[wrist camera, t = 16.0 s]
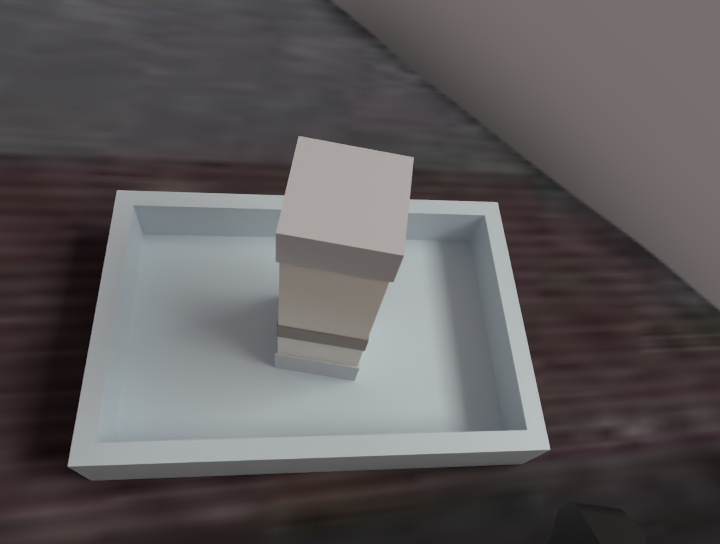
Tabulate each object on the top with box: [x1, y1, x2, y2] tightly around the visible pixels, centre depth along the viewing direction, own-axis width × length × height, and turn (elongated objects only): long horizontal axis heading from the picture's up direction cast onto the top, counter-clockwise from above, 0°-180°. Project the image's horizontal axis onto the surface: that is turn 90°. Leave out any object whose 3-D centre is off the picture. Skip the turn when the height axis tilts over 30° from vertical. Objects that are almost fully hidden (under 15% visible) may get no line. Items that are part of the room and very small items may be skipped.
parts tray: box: [68, 190, 550, 481], centre depth 25 cm, size 18×12×3 cm, turn 93°
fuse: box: [275, 136, 414, 381], centre depth 21 cm, size 4×4×11 cm
